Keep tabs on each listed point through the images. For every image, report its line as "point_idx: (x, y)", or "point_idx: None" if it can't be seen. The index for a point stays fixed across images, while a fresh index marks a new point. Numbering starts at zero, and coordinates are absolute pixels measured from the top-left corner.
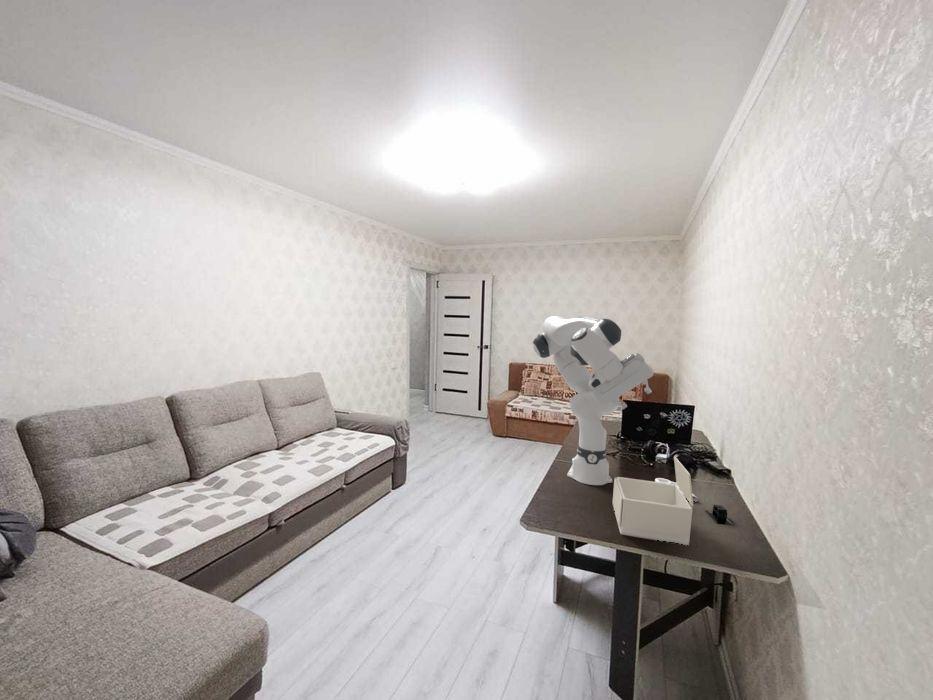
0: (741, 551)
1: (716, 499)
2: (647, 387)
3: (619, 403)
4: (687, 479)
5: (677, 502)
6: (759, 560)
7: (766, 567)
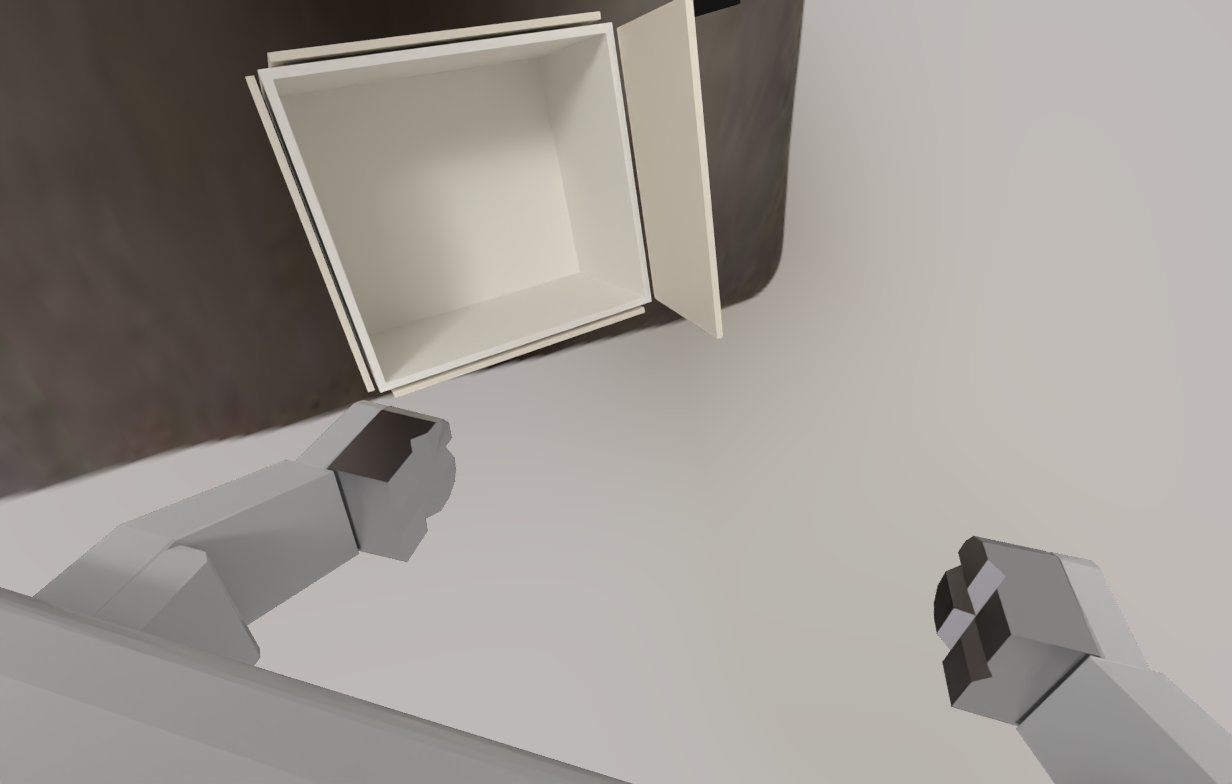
0: (716, 213)
1: None
2: (1076, 774)
3: (311, 570)
4: (695, 293)
5: (589, 113)
6: (745, 241)
7: (749, 271)
